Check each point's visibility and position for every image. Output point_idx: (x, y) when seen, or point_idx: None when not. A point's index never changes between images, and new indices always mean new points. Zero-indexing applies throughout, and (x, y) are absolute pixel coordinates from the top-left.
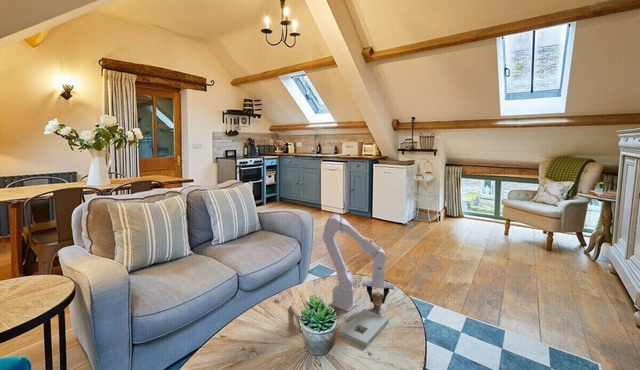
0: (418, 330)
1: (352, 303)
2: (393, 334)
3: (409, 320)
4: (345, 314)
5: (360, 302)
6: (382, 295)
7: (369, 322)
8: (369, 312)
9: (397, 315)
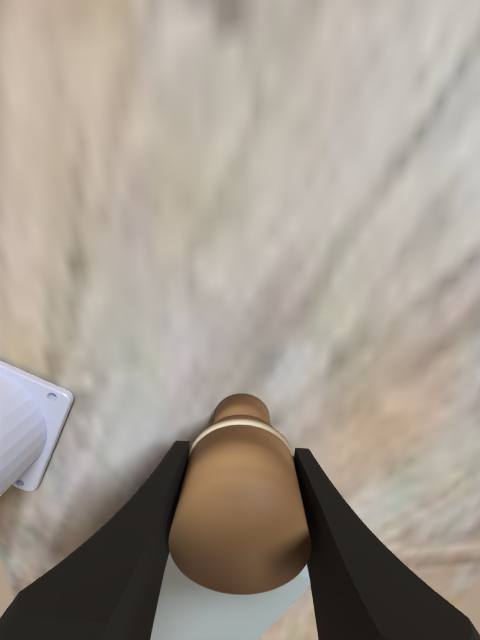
0: (467, 581)
1: (24, 464)
2: None
3: (449, 514)
4: (30, 506)
5: (99, 355)
6: (304, 552)
7: (186, 620)
8: None
9: (382, 477)
